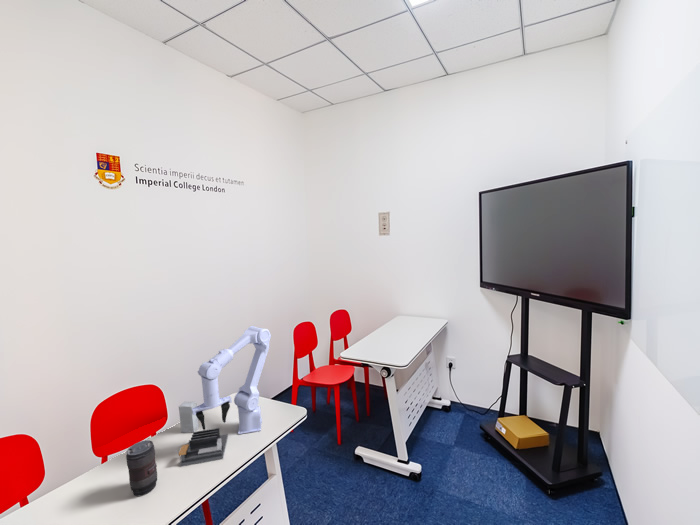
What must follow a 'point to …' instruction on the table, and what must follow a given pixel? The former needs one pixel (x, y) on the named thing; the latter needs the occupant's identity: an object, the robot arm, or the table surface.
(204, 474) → the table surface
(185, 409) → the skincare box
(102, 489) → the table surface
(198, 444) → the heatsink
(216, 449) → the clip
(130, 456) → the camera lens
